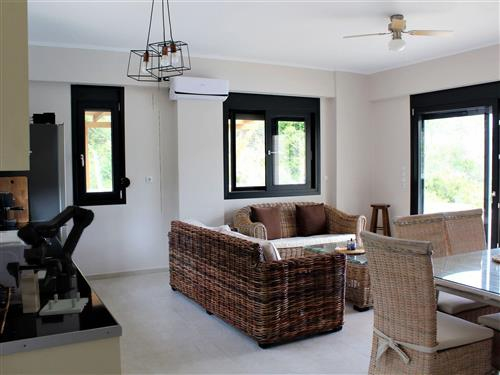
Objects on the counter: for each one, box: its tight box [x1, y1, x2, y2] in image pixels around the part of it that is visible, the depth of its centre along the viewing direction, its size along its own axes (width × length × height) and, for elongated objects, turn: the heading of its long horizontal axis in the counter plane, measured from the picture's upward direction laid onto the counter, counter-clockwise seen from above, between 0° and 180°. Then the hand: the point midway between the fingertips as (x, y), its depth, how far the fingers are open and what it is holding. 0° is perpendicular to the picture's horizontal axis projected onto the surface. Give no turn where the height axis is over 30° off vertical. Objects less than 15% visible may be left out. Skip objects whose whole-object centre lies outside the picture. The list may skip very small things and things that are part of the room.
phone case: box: [36, 269, 56, 282], centre depth 228 cm, size 9×2×16 cm
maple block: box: [20, 273, 41, 314], centre depth 174 cm, size 4×4×13 cm
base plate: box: [39, 292, 89, 316], centre depth 176 cm, size 14×14×4 cm
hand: (30, 287), depth 175 cm, fingers open, 9 cm apart
